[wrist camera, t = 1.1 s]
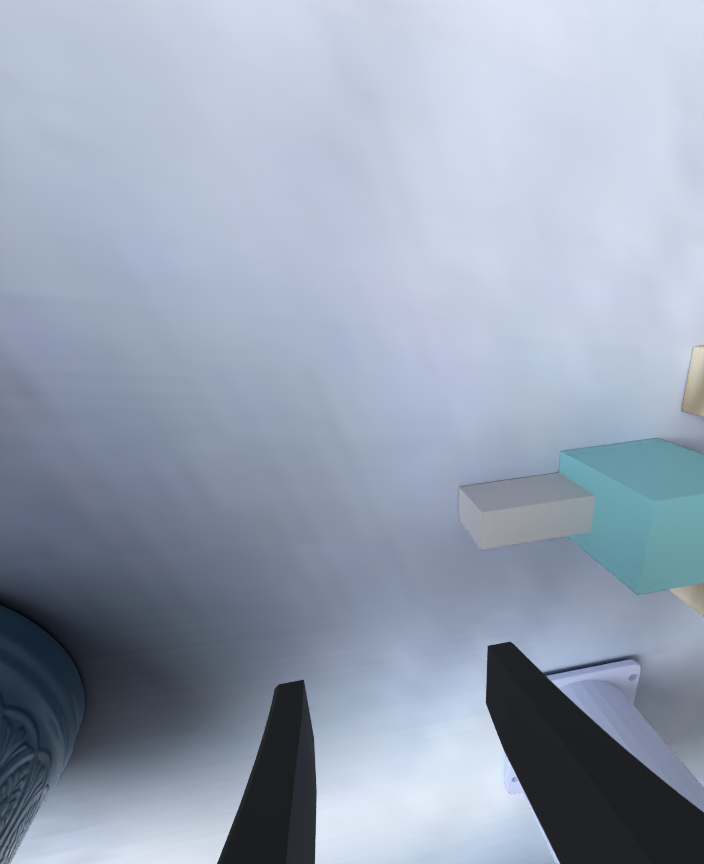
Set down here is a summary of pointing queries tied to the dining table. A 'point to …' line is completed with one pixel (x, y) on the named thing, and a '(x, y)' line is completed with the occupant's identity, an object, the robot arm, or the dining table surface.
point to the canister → (33, 723)
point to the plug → (605, 511)
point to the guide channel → (700, 400)
